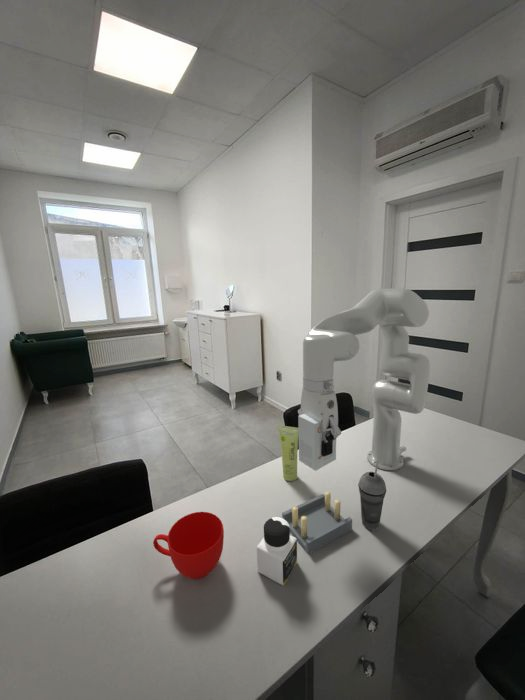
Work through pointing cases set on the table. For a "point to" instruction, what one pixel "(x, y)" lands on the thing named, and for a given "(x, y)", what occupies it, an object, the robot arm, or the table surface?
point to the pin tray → (316, 522)
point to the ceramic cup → (194, 544)
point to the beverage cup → (371, 498)
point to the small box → (312, 443)
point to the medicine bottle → (277, 551)
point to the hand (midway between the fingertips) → (317, 447)
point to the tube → (289, 451)
